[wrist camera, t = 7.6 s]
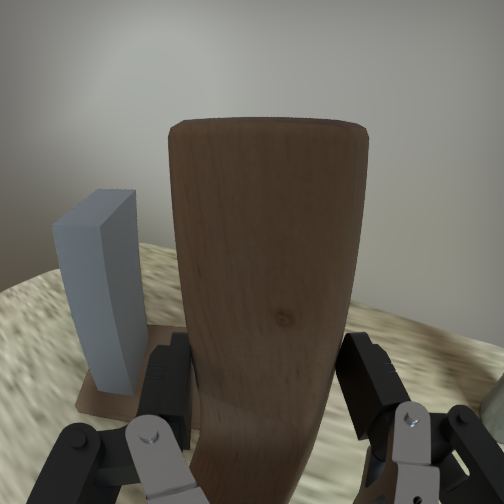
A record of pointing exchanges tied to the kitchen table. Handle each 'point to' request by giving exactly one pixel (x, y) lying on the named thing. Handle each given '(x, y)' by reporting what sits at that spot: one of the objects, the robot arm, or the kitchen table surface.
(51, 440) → the kitchen table surface
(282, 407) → the wooden block
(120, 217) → the slate post
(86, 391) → the base board
